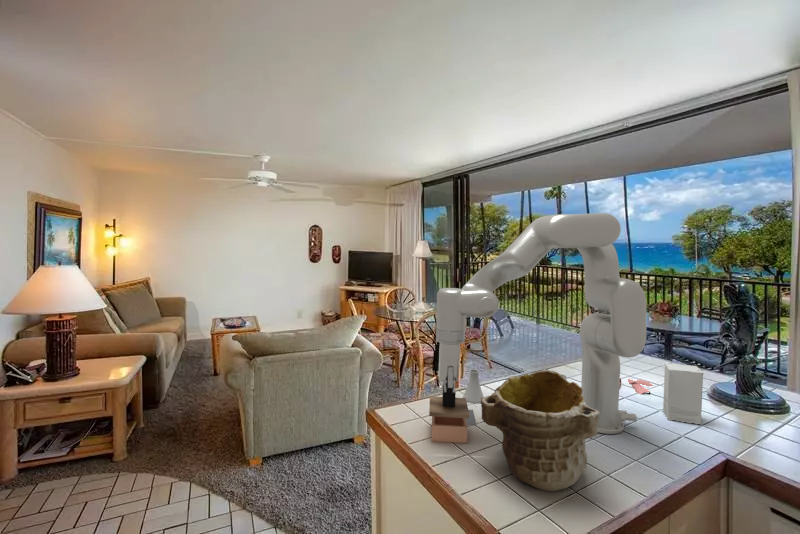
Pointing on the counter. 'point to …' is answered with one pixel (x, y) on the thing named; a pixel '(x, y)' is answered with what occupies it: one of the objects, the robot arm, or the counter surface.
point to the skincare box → (683, 393)
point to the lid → (448, 408)
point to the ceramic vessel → (542, 428)
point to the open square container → (449, 429)
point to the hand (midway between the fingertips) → (448, 402)
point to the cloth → (637, 386)
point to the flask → (473, 388)
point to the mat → (471, 419)
